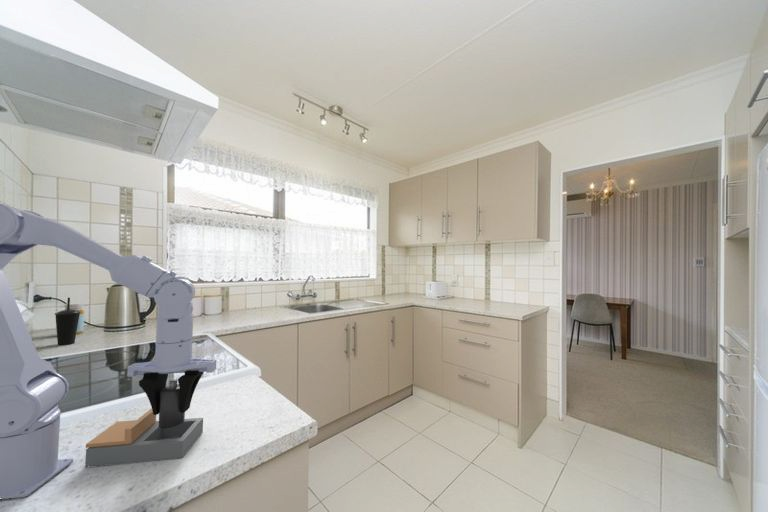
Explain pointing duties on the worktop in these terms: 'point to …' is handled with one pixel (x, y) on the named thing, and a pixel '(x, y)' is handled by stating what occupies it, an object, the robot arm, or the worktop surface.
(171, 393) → the plug
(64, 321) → the drinking cup
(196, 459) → the worktop surface
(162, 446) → the socket block
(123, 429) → the tan l-shaped bracket
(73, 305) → the bottle
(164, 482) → the worktop surface
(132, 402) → the worktop surface
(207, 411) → the worktop surface
